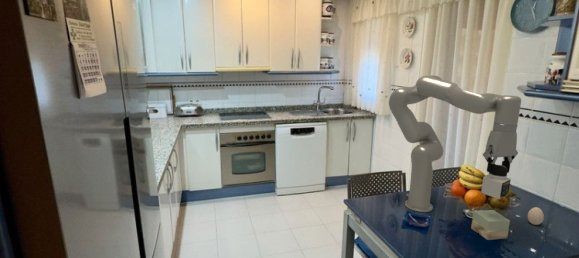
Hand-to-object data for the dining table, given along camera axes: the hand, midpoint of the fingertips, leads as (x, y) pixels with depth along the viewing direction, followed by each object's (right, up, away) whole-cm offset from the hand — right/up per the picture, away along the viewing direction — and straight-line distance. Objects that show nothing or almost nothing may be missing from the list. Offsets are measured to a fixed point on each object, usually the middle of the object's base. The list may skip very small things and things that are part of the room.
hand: (497, 171), depth 123 cm
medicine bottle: (0, -10, +2) cm, 10 cm away
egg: (+25, -25, +13) cm, 38 cm away
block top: (0, -23, +5) cm, 23 cm away
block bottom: (0, -27, +6) cm, 27 cm away
